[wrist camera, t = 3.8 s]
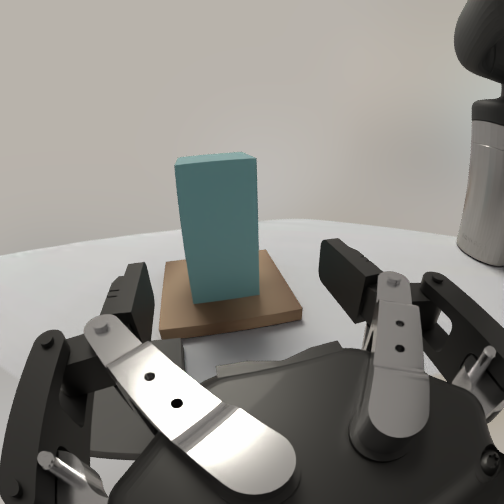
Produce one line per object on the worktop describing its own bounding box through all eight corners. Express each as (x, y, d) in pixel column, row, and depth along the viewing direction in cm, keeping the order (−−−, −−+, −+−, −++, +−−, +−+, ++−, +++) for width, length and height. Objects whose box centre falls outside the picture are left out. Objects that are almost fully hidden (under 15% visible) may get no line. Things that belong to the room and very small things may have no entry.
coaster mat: (183, 348, 17) (180, 337, 16) (193, 458, 10) (188, 452, 9) (78, 354, 15) (73, 344, 15) (55, 451, 8) (45, 442, 8)
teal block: (246, 264, 25) (241, 151, 20) (259, 294, 20) (256, 158, 16) (191, 271, 24) (178, 157, 20) (193, 304, 20) (174, 165, 15)
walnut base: (265, 258, 28) (265, 211, 26) (301, 319, 19) (306, 258, 17) (167, 270, 26) (159, 223, 24) (162, 340, 17) (144, 279, 15)
